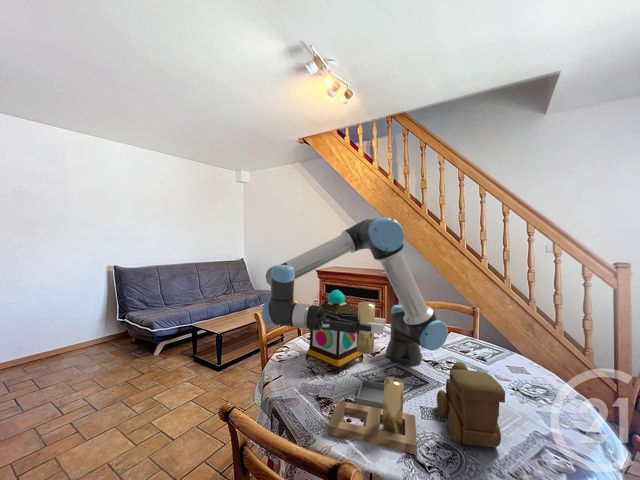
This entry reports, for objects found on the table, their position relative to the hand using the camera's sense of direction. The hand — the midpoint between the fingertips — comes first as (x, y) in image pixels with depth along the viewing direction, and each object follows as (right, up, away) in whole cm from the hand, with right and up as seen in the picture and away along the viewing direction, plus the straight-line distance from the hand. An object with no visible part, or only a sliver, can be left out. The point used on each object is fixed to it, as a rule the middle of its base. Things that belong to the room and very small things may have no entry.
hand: (383, 326), depth 82 cm
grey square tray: (0, -26, +8) cm, 27 cm away
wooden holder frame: (-5, -26, -6) cm, 27 cm away
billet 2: (0, -26, -8) cm, 27 cm away
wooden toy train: (+21, -27, -5) cm, 35 cm away
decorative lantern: (-13, -25, +34) cm, 45 cm away
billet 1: (-5, -8, +2) cm, 9 cm away
